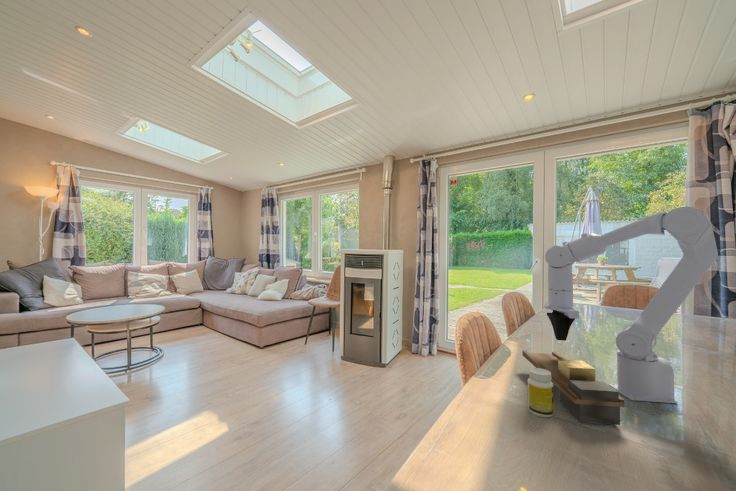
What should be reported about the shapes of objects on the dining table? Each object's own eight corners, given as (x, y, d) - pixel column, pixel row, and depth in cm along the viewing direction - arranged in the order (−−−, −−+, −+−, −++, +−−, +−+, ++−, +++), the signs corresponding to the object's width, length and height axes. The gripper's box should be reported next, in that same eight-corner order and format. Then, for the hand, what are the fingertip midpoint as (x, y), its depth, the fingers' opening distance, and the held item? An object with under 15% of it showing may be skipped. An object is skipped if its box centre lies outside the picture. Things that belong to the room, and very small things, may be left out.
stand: (584, 387, 75) (584, 371, 75) (605, 403, 67) (605, 385, 67) (526, 384, 77) (526, 368, 77) (540, 399, 69) (540, 381, 69)
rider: (582, 378, 68) (582, 360, 68) (595, 388, 63) (595, 368, 64) (558, 377, 69) (558, 359, 69) (569, 386, 64) (569, 367, 64)
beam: (555, 369, 85) (554, 346, 85) (624, 425, 57) (624, 392, 57) (522, 367, 86) (522, 345, 86) (575, 421, 58) (575, 389, 59)
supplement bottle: (557, 419, 60) (557, 376, 60) (532, 416, 61) (531, 374, 61) (548, 407, 65) (548, 367, 65) (524, 405, 66) (524, 366, 66)
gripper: (534, 286, 91) (534, 332, 91) (557, 292, 77) (557, 347, 76) (559, 287, 90) (560, 333, 90) (587, 293, 76) (588, 348, 75)
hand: (561, 339), depth 83 cm, fingers closed
